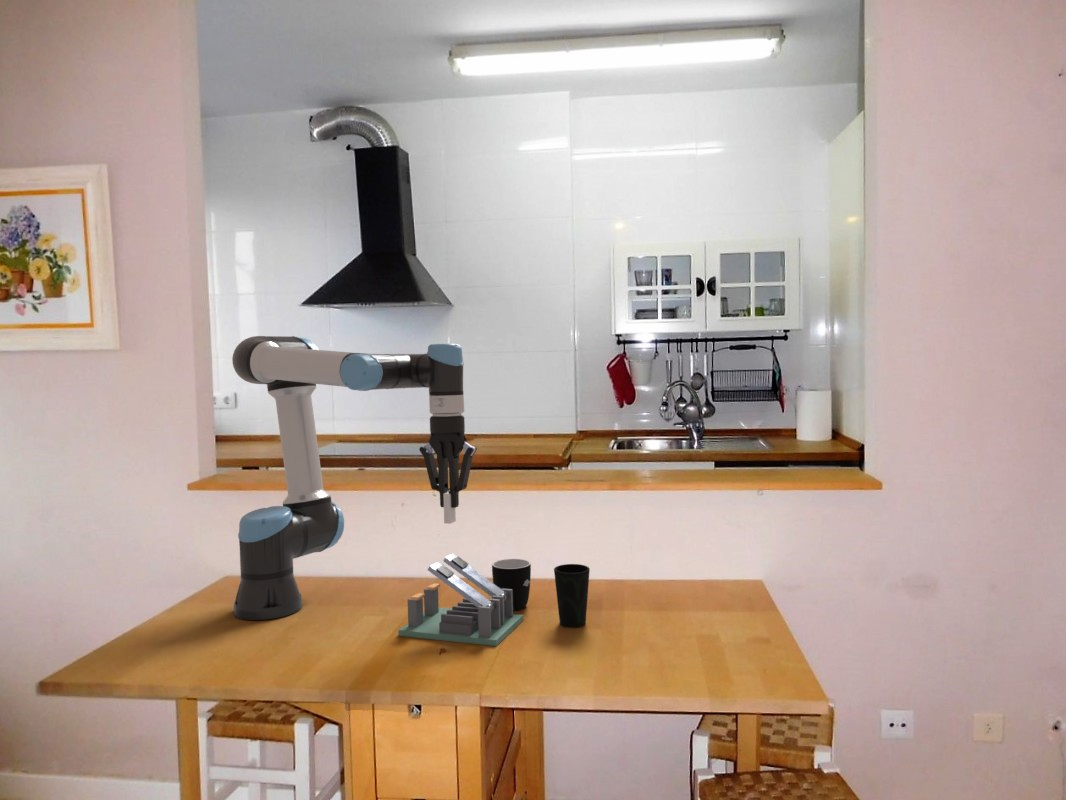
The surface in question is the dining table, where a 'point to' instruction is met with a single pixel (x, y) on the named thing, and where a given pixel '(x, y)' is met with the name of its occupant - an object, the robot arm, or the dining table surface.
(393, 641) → the dining table surface
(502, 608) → the socket board
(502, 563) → the mug
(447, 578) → the strap near
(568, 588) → the cup
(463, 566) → the strap far
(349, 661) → the dining table surface
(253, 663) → the dining table surface
